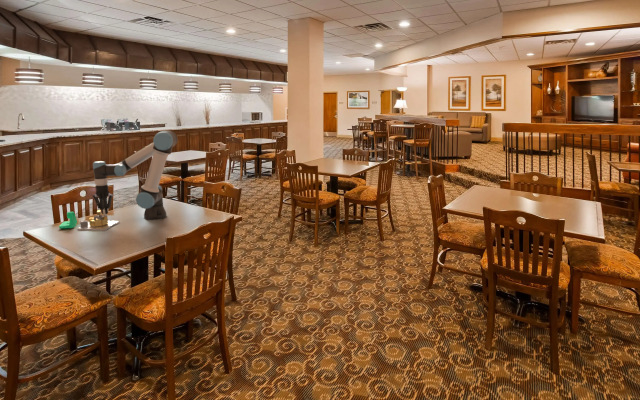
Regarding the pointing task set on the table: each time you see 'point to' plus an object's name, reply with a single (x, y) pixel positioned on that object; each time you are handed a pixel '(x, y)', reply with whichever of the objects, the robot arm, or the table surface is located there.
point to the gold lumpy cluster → (98, 220)
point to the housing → (86, 226)
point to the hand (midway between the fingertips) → (105, 218)
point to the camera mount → (70, 223)
